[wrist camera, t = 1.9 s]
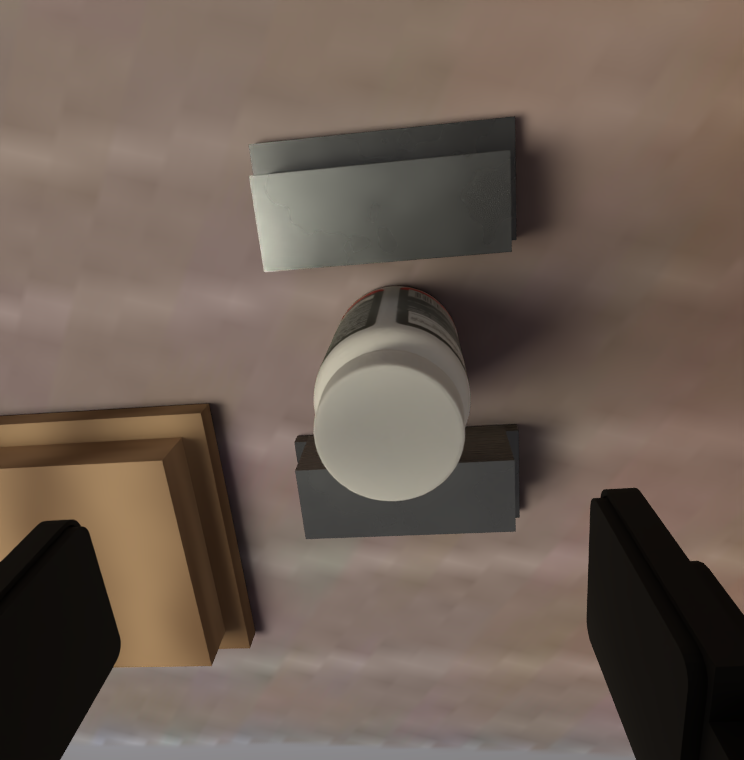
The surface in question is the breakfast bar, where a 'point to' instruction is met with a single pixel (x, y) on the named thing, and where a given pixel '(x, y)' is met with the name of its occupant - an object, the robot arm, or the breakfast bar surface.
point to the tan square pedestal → (137, 521)
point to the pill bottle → (392, 396)
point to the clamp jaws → (387, 244)
